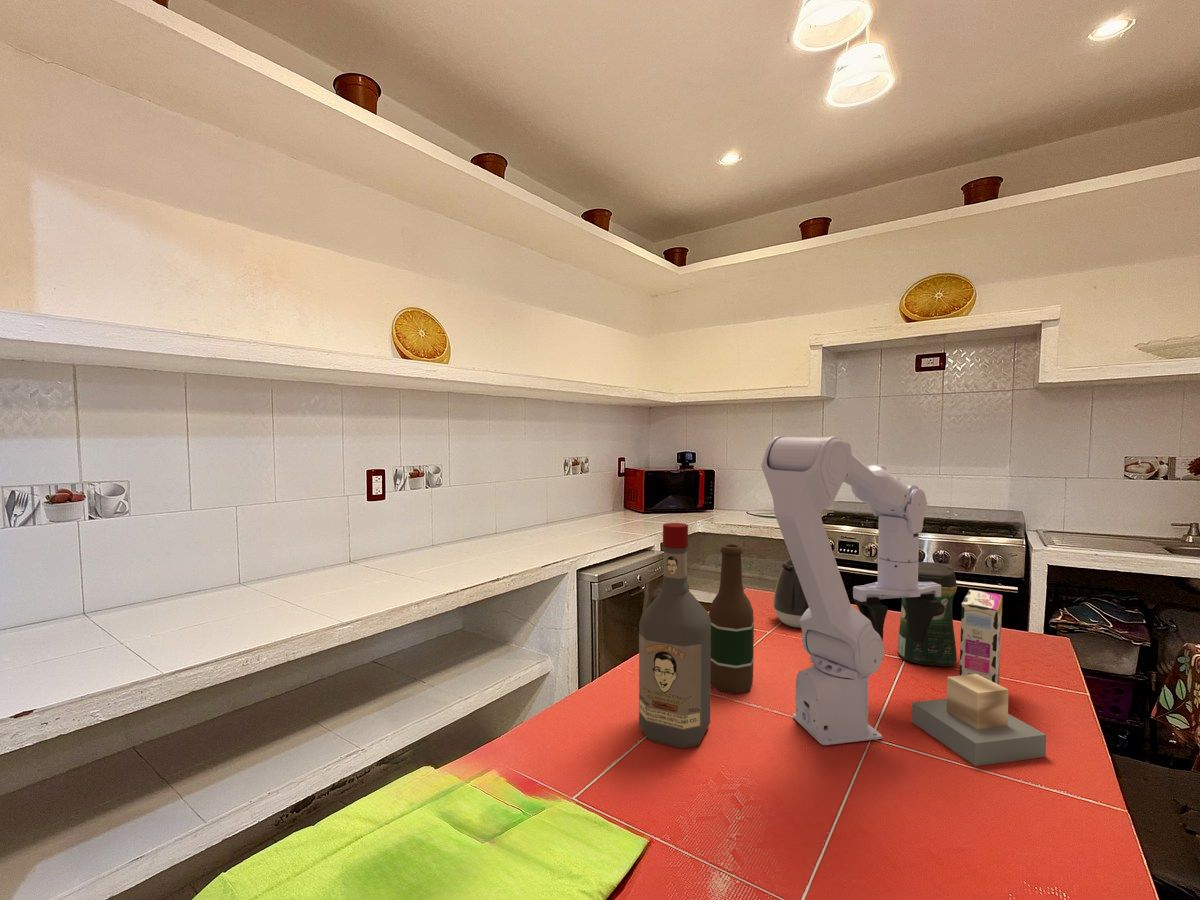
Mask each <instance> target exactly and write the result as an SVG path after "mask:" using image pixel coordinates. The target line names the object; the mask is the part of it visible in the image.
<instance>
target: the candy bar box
mask: <svg viewBox="0 0 1200 900" xmlns="http://www.w3.org/2000/svg"><path fill="white" fill-rule="evenodd" d="M960 616H961V617H960V619H961V620H960V622H961V623H960V643H959V644H960V650H959V651H960V652H959V670H958V671H959V674H958V676H961V675H970V674H978V675H980V676H982V677H984V678H986V679H988V680H990V681H992V682H994V683H996V684H998V685H1000V673H1001V672H1000V669H1001V668H1000V666H1001V642H1002V618H1003V617H1002V616H1003V595H1002V594H999V593H995V592H987V591H982V590H974V589H968V592H966V595H965V596H964V599H963V601H962V602H961V615H960Z"/></svg>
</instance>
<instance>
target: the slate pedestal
mask: <svg viewBox="0 0 1200 900" xmlns="http://www.w3.org/2000/svg"><path fill="white" fill-rule="evenodd" d="M911 704H912V705H911V723H913V724H914V725H915V726H917V727H918V728H920V729H921V730H922V731H924V732H926V733H927V734H928V735H930V736H931V737H933V738H934V739H935V740H937V741H938V742H940V743H941V744H943V745H944V746H945V747H947V748H948V749H950V750H951V751H953V752H954V753H955V754H957V755H959V756H960V757H961V758H962V759H965V761H967V762H968V763H970V764H972V765H973V766H974V767H978V766H985V765H992V764H993V765H995V764H1002V763H1008V762H1016V761H1023V760H1024V761H1025V760H1032V759H1039V758H1046V756H1047V755H1046V754H1047V734H1046V733H1043V732H1042V731H1040V730H1039V729H1037V728H1035V727H1033V726H1032V725H1030V724H1027V723H1026V722H1025V721H1022V720H1020V719H1019V718H1017V717H1015V716H1014V715H1012V714H1009V713H1008V725H1007V726H1000V727H992V728H985V729H975V728H974V727H972V726H971V725H969V724H967V723H966V722H964V721H962V720H961V719H959V718H957V717H956V716H954V715H952V714H951V713H949V712H947V698H939V699H930V700H918V701H912V703H911Z"/></svg>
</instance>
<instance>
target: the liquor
mask: <svg viewBox="0 0 1200 900" xmlns="http://www.w3.org/2000/svg"><path fill="white" fill-rule="evenodd" d="M662 547H663V577H662V578H663V581H662V582H663V583H662V584H661V588H660V589H661V591H660V593H658V594H657V596H656V597H655V598H654V600H653V601H652V602H651V603H650V604H649V606H648V607H647V608H646V609H645V610H644V612H642V614H641V616H640V620H639V621H638V726H639V728H640V729H641V731H642V733H643V734H644V735H645V736H646V738H647V739H648V740H649V741H651V742H655V743H658V744H662V745H666V746H670V747H674V748H679V749H688V748H692V747H697V746H699V744H700V743H701V741H702V739H703V737H704V735H705V733H706V731H707V729H708V727H709V725H710V723H711V687H712V686H711V619H710V617H709V611H707V609H705V608H704V606H703V605H702V604H701V603H700V602H699V601H698V600H697V598H696V597H695V596H694V595H693V593H692V592H691V591H690V585H689V582H688V548H689V524H686V523H682V522H667V523H663V524H662Z"/></svg>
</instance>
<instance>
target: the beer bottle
mask: <svg viewBox="0 0 1200 900" xmlns="http://www.w3.org/2000/svg"><path fill="white" fill-rule="evenodd" d="M743 552H744V550H743V547H742V546H741V545H739V544H735V543H734V544H733V543H727V544H726V543H725V544H723V545H722V546H721V548H720V553H721V568H720V569H721V570H720V582H719V583H720V584H719V588H718V593H716V596H715V597H714V598H713V599H712V601H711V604H710V607H709V610H708V614H709V617H710V619H711V687H712V688H714V689H715V690H717V691H718V692H720V693H721V692H722V693H727V694H731V695H732V694H733V695H738V694H743V693H747V692H748V693H749V692H750V691H751V689H752V685H753V682H754V655H755V654H754V649H755V648H754V645H755V642H754V640H755V639H754V638H755V633H754V632H755V627H754V626H755V618H754V610H753V609H754V608H753V606H752V604H751V601H750V599H749V598H748V597H747V595H746V593H745V590H744V584H743V568H742V554H743Z"/></svg>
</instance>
